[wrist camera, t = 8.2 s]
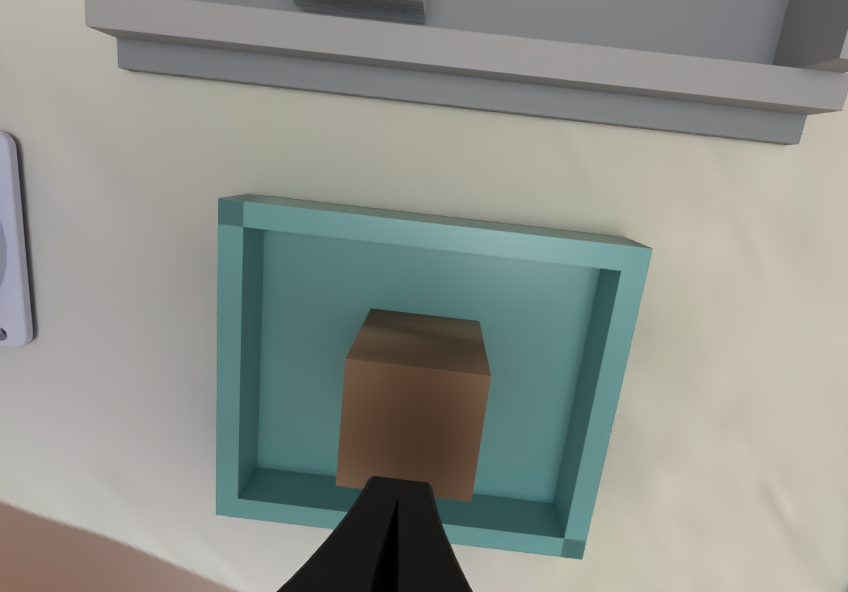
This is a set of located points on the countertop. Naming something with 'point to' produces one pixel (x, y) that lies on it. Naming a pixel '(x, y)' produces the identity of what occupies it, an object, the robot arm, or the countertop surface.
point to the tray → (430, 295)
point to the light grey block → (370, 8)
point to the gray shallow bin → (520, 57)
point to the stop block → (414, 402)
